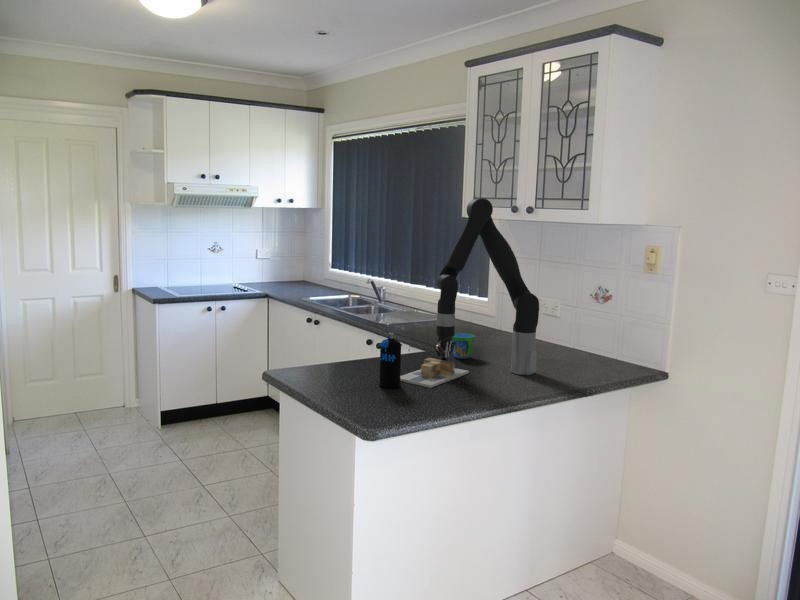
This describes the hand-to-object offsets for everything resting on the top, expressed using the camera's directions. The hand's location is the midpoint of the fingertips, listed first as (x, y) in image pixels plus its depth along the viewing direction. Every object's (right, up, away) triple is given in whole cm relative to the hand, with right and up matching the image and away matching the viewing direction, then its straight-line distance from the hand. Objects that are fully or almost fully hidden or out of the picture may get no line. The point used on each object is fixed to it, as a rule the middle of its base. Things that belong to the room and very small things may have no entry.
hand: (444, 366), depth 267 cm
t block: (-5, -2, -7) cm, 8 cm away
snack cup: (+10, +1, +27) cm, 29 cm away
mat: (-5, -3, -7) cm, 9 cm away
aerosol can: (-22, -5, -21) cm, 31 cm away
